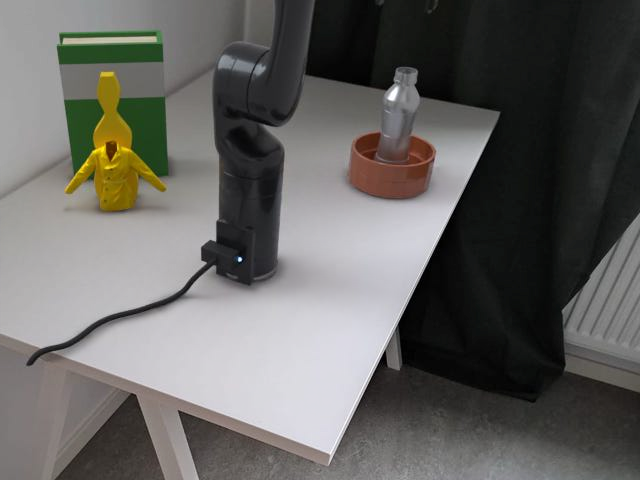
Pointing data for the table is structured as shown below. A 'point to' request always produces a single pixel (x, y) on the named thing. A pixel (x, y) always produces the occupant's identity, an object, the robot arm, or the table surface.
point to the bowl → (390, 168)
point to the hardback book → (135, 97)
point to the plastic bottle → (398, 118)
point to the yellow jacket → (113, 155)
